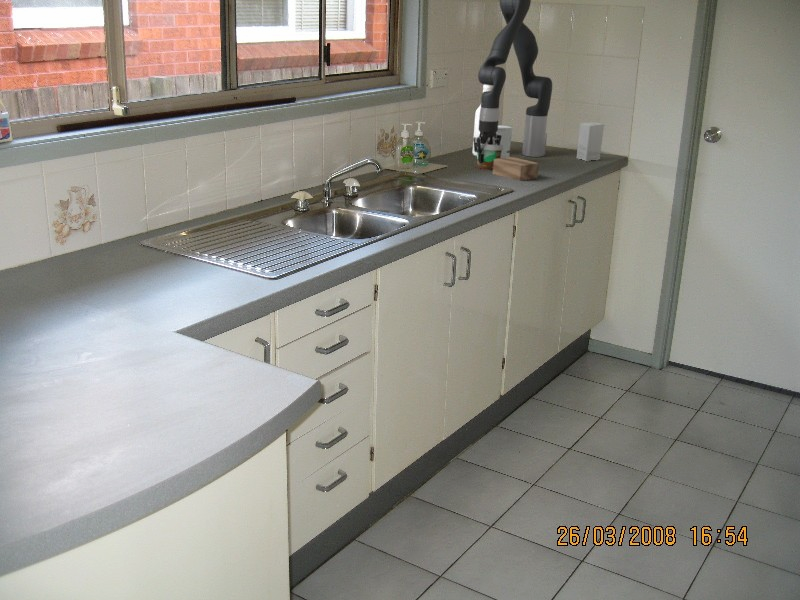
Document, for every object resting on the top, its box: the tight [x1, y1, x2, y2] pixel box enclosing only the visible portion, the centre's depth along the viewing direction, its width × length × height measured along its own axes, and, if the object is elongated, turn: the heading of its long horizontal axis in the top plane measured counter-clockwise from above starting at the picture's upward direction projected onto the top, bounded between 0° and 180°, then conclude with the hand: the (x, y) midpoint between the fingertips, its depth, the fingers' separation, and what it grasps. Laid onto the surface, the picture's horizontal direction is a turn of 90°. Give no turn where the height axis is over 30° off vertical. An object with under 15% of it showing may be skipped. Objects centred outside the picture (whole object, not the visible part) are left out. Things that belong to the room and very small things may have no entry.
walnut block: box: [492, 156, 540, 182], centre depth 336 cm, size 10×14×6 cm
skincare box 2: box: [576, 121, 605, 162], centre depth 372 cm, size 8×7×16 cm
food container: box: [476, 143, 503, 171], centre depth 346 cm, size 12×6×10 cm, turn 47°
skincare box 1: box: [496, 125, 513, 158], centre depth 358 cm, size 8×6×15 cm
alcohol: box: [471, 84, 493, 157], centre depth 369 cm, size 9×9×30 cm
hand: (485, 162), depth 347 cm, fingers closed on food container, 5 cm apart
